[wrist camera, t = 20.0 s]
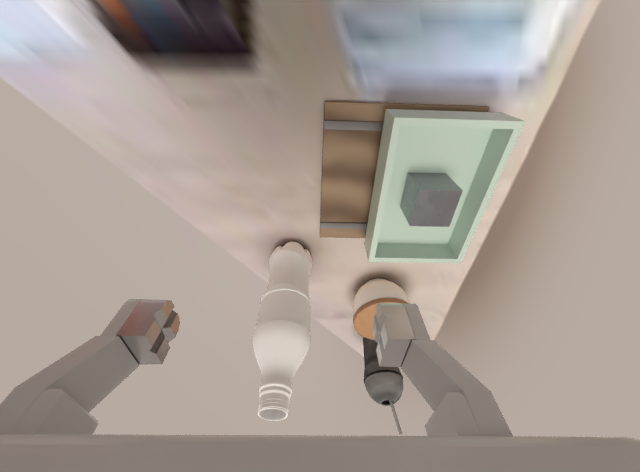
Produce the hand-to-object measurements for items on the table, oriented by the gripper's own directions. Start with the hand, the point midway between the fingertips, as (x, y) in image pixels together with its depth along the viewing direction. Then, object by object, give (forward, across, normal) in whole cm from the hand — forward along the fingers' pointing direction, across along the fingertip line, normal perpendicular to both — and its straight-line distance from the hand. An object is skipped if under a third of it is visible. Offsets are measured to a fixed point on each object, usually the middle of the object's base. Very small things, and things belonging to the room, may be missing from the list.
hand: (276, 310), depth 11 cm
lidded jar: (+29, -14, +30) cm, 44 cm away
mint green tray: (+28, -16, +7) cm, 33 cm away
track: (+29, -12, +7) cm, 32 cm away
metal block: (+26, -16, +7) cm, 31 cm away
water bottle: (+29, +2, +21) cm, 36 cm away
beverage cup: (+29, -15, +42) cm, 53 cm away
